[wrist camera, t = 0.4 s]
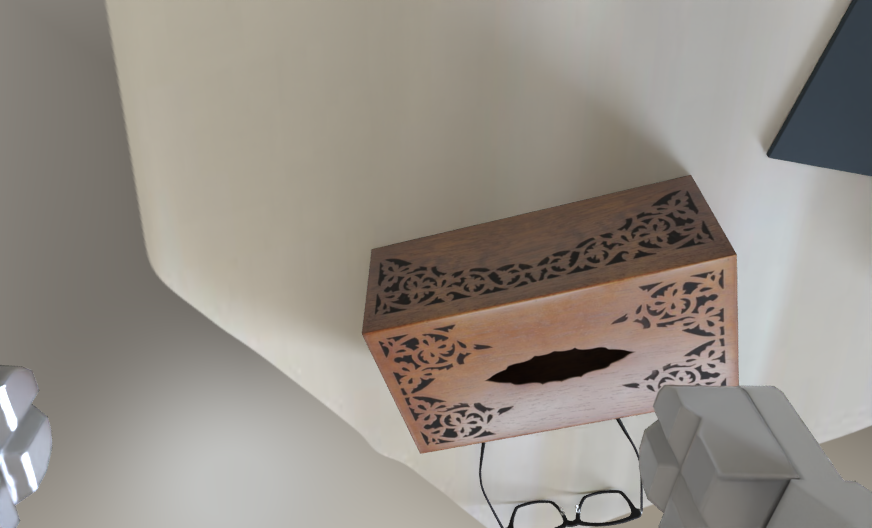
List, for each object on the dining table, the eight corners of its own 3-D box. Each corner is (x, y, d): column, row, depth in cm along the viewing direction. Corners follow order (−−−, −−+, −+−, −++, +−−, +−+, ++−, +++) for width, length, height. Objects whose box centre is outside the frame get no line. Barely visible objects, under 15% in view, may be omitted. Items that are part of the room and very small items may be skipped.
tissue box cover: (421, 365, 65) (420, 453, 57) (371, 249, 57) (361, 333, 49) (699, 310, 61) (738, 396, 53) (691, 174, 52) (736, 254, 44)
